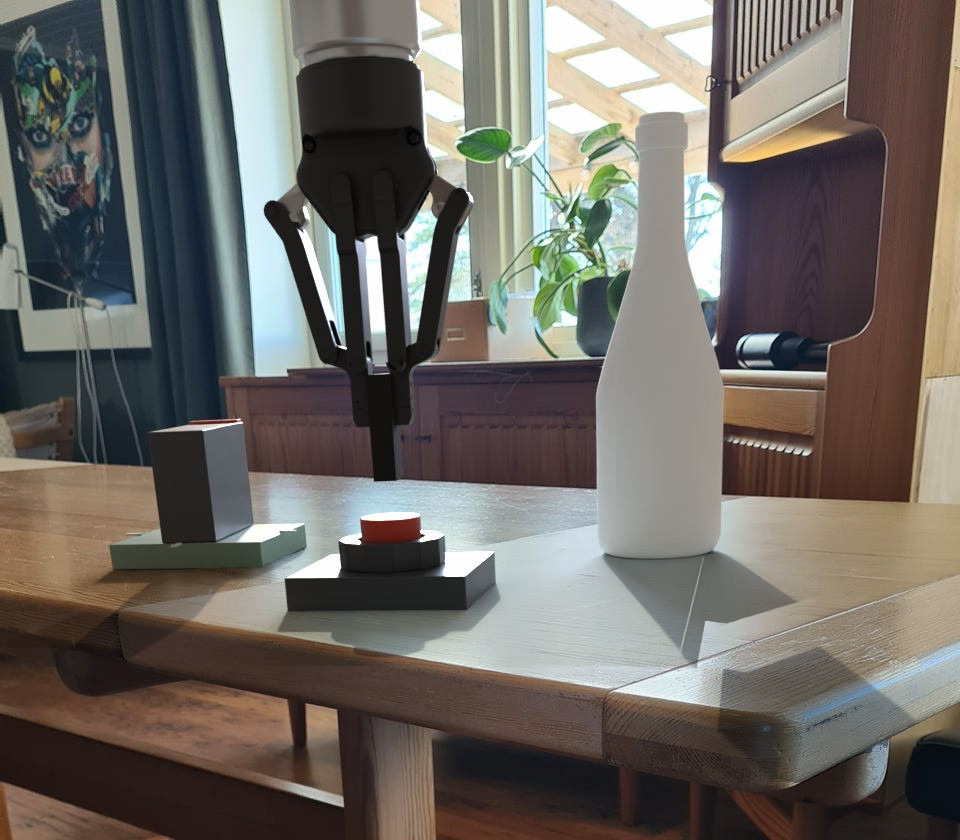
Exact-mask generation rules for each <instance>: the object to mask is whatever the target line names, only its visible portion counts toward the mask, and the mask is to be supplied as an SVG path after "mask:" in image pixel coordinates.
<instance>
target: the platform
mask: <svg viewBox="0 0 960 840" xmlns="http://www.w3.org/2000/svg"><path fill="white" fill-rule="evenodd" d="M125 536H126V537H127V536H128V537H129V536H132V537H130V538H125V539H123V540H120V541H116V542H114V543H110V544H108V546H109V553H110V560H111V561H110V562H111V566H112V570H113V571H114V570H116V571H117V570H180V569H181V570H183V569H186V570H187V569H189V570H190V569H203V568H204V569H207V568H209V569H210V568H264V567H266V566H268V565H270V564H272V563H274V562H276V561H278V560H280V559H282V558H284V557H286V556H289V555H292V554H295V553H296V552H299V551H301V550H303V549H305V548H307V547H308V546H307V535H306V525H305V523H269V524H268V523H265V524H264V523H263V524H261V523H260V524H252V525H250V526H247V527H245V528H243V529H241V530H239V531H237V532H235V533H233V534H231V535H228V536H226V537H224V538H222V539H220V540H218V541H216V542H189V543H162V537H161V530H160V528H157V529H154V530H151V531H148V532H127V533H125Z"/></svg>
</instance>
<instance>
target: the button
mask: <svg viewBox="0 0 960 840" xmlns="http://www.w3.org/2000/svg"><path fill="white" fill-rule="evenodd" d="M421 521H422V520H421V514H419V513H415V512H384V513H375V514H374V513H373V514H368V515H364V516H361V517H359V523H360V534H361V538H362V542H398V541H409V540H414V539H419V538H422V536H421V530H422V522H421Z"/></svg>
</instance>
